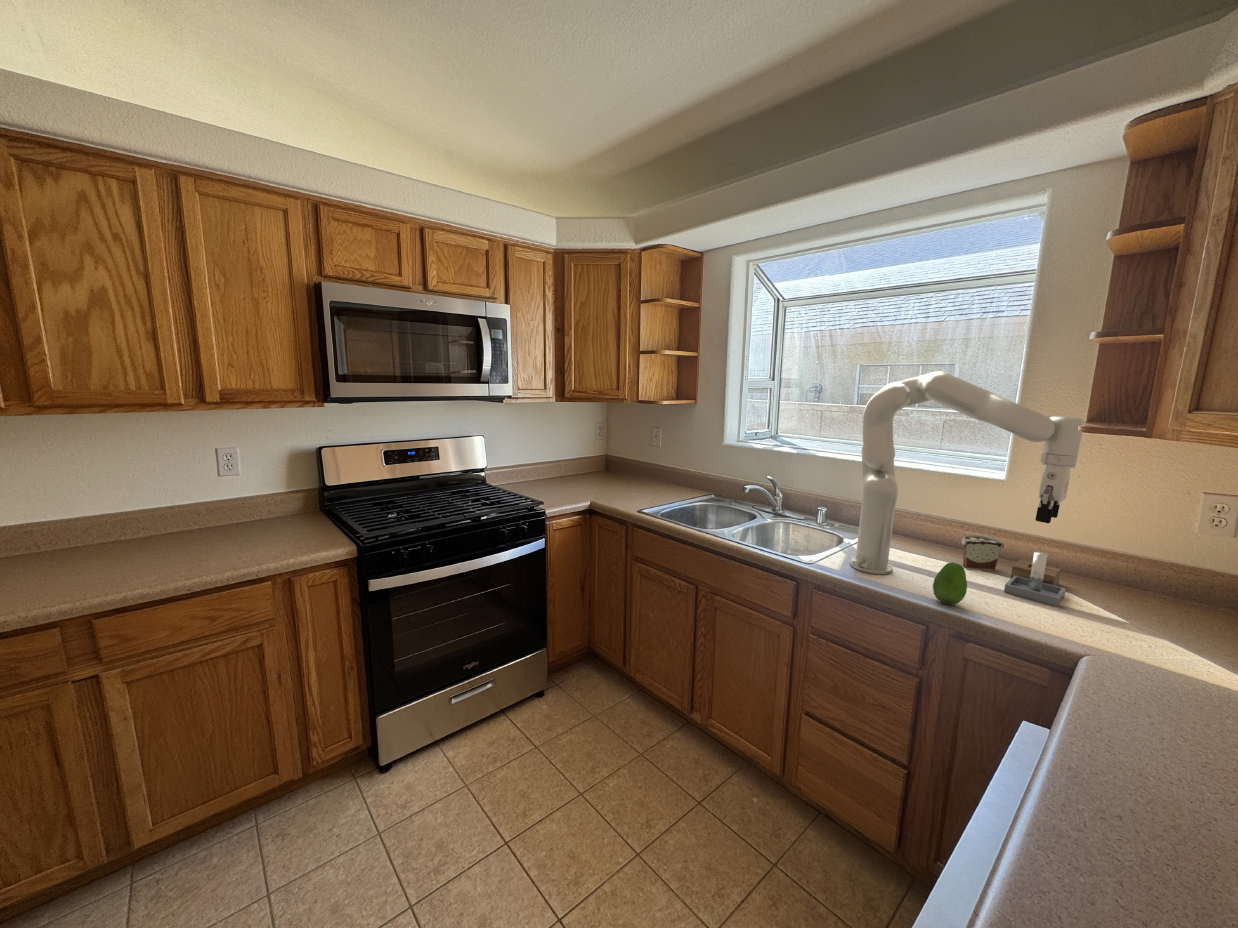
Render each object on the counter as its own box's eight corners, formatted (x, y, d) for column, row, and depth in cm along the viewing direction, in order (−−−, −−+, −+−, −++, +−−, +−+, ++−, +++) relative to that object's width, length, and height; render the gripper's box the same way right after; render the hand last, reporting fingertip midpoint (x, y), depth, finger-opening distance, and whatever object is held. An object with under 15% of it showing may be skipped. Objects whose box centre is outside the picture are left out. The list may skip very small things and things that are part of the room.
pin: (1039, 595, 143) (1046, 555, 141) (1026, 591, 145) (1033, 552, 143) (1041, 592, 145) (1048, 553, 143) (1028, 589, 147) (1035, 550, 145)
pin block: (1051, 592, 147) (1054, 576, 146) (1010, 581, 155) (1012, 565, 154) (1058, 583, 153) (1061, 568, 153) (1017, 573, 161) (1020, 559, 160)
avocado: (968, 611, 133) (974, 569, 131) (934, 606, 135) (940, 564, 133) (959, 599, 140) (965, 559, 138) (927, 594, 143) (933, 555, 141)
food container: (988, 563, 169) (992, 535, 168) (1000, 570, 163) (1005, 541, 162) (950, 561, 171) (954, 533, 169) (960, 568, 165) (965, 539, 163)
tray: (1056, 606, 137) (1058, 598, 137) (1003, 592, 146) (1005, 584, 146) (1064, 596, 144) (1065, 588, 144) (1013, 582, 153) (1014, 575, 153)
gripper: (1070, 465, 130) (1057, 527, 133) (1081, 460, 141) (1069, 517, 144) (1034, 460, 136) (1022, 520, 139) (1047, 456, 147) (1036, 511, 150)
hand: (1046, 519), depth 141 cm, fingers open, 9 cm apart
